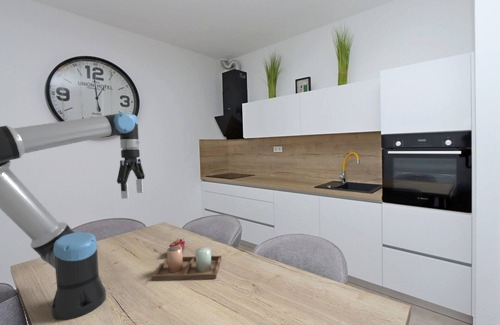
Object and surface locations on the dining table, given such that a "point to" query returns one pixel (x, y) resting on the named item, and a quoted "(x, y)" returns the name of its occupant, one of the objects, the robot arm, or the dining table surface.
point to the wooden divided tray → (187, 270)
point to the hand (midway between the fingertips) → (133, 195)
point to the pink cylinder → (175, 259)
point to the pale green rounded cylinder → (203, 259)
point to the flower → (179, 243)
